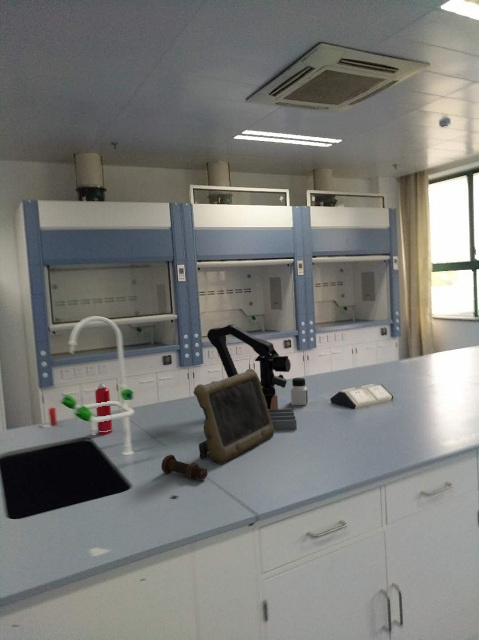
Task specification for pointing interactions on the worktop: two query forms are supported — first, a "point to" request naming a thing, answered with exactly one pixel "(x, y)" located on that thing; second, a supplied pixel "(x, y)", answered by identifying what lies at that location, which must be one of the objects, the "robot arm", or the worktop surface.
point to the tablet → (233, 416)
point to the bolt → (183, 468)
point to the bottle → (103, 408)
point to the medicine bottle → (299, 392)
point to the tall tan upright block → (274, 402)
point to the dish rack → (283, 419)
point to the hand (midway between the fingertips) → (268, 406)
